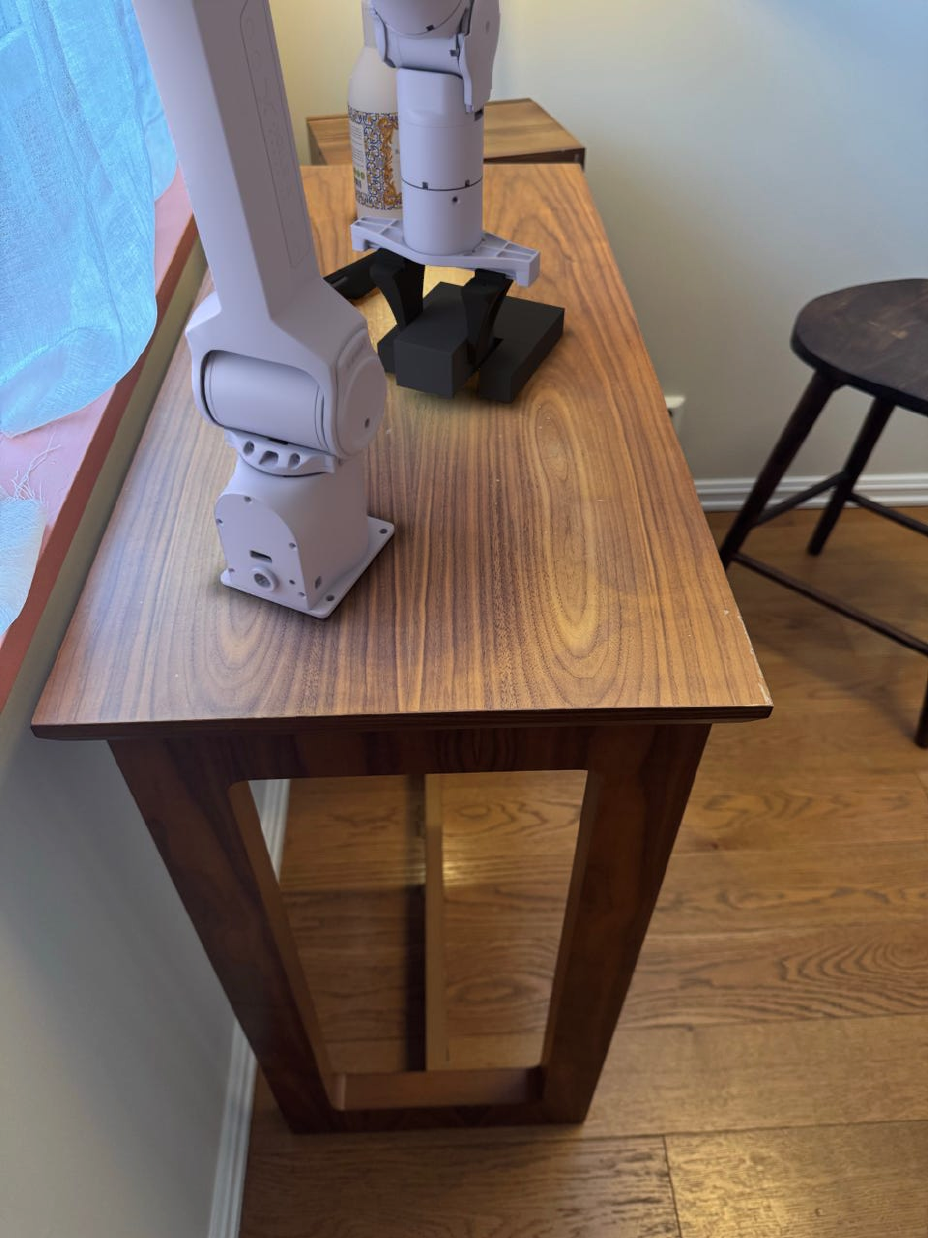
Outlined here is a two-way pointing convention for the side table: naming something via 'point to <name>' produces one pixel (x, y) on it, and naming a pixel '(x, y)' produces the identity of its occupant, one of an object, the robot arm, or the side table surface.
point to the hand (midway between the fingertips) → (445, 351)
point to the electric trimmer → (354, 278)
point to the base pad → (501, 342)
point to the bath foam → (374, 130)
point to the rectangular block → (436, 350)
